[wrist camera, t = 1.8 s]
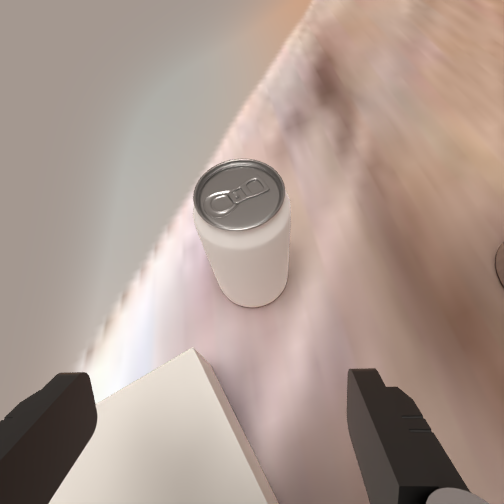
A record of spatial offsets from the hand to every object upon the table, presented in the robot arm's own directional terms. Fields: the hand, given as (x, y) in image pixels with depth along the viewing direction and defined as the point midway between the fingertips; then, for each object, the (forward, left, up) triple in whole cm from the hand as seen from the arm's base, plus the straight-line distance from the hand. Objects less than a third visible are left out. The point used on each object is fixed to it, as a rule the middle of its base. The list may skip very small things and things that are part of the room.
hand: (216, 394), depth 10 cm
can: (-6, -10, -16) cm, 20 cm away
